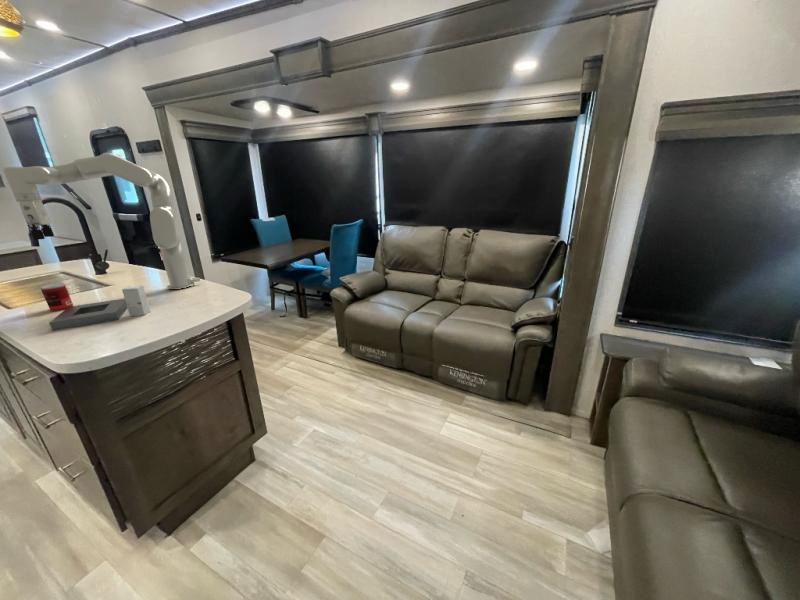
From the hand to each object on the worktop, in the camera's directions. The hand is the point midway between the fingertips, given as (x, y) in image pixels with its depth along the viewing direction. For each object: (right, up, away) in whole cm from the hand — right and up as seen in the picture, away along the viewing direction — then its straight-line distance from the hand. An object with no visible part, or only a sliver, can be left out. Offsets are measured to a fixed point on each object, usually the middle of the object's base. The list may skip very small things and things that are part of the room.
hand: (44, 237), depth 142 cm
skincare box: (+48, -34, -6) cm, 59 cm away
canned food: (+4, -32, +4) cm, 33 cm away
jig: (+30, -35, -8) cm, 47 cm away
